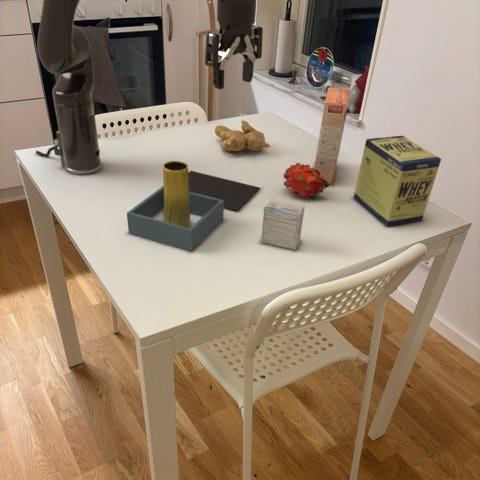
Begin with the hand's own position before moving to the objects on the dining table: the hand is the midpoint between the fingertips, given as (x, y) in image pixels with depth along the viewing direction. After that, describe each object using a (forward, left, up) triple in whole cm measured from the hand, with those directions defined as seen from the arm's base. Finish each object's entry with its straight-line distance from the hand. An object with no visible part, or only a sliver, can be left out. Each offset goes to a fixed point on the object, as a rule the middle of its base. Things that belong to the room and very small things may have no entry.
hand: (233, 84), depth 109 cm
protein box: (+36, +16, -28) cm, 48 cm away
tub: (-5, -16, -27) cm, 32 cm away
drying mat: (-6, +4, -27) cm, 28 cm away
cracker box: (+16, +29, -28) cm, 43 cm away
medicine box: (+18, -11, -28) cm, 35 cm away
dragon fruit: (+15, +14, -28) cm, 34 cm away
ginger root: (-11, +33, -28) cm, 44 cm away
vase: (-5, -16, -28) cm, 32 cm away
